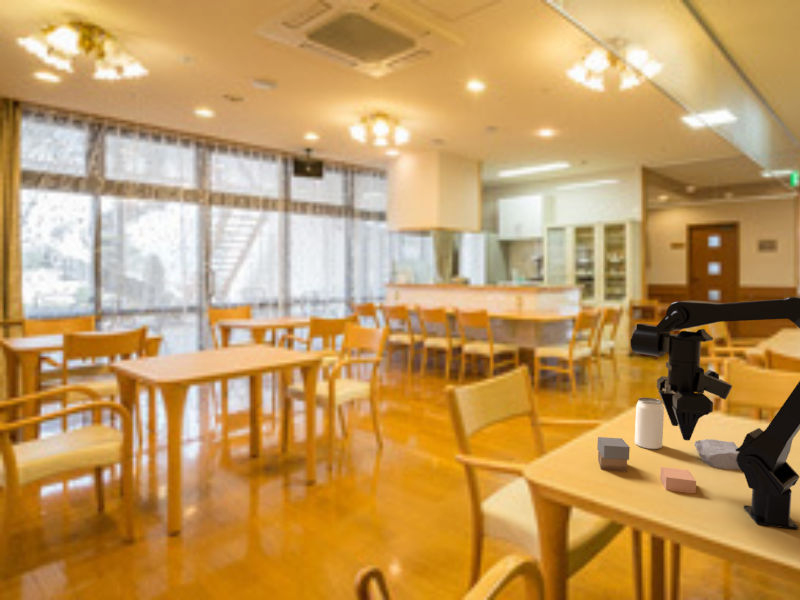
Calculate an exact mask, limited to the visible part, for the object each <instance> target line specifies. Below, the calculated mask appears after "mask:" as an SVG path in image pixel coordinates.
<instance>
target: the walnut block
mask: <svg viewBox="0 0 800 600" xmlns="http://www.w3.org/2000/svg"><path fill="white" fill-rule="evenodd" d="M597 451H598V450H597ZM597 453H598V454H597V456H598V457H597V461H598V464H599V468H600V470H607V471H615V472H625V473H627V471H628V460H624V459H608V458H603V456H602V455H601V454H600V452H599V451H598V452H597Z"/></svg>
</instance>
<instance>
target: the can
mask: <svg viewBox="0 0 800 600" xmlns="http://www.w3.org/2000/svg"><path fill="white" fill-rule="evenodd" d="M664 415H665V406H664V404H663V401H662V399H661V400H660V399H657V398H653V397H639V398H638V401H637V403H636V405H635V426H634V443H635V445H636V446H638V447H639V448H643V449H646V450H659V449H661V448H662V447H663V439H664V419H665V416H664Z"/></svg>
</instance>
